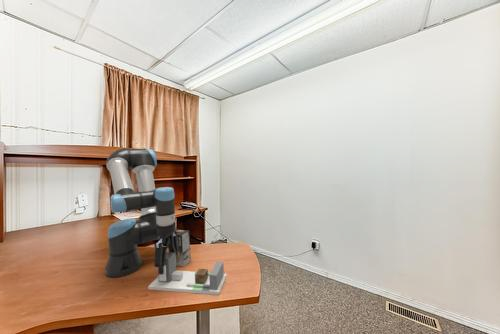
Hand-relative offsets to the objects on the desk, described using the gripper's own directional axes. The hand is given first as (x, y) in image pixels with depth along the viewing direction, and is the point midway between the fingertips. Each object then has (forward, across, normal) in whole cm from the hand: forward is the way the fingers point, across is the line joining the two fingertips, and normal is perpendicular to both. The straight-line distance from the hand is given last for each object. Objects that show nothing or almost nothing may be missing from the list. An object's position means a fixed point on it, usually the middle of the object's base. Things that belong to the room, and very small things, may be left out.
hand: (168, 274), depth 86 cm
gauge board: (+3, 0, -10) cm, 10 cm away
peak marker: (+2, 0, -15) cm, 15 cm away
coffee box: (+3, +15, +2) cm, 15 cm away
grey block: (+1, 0, -2) cm, 2 cm away
